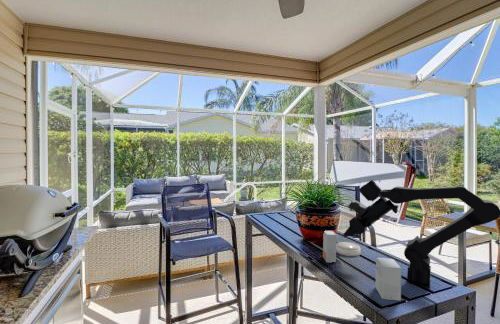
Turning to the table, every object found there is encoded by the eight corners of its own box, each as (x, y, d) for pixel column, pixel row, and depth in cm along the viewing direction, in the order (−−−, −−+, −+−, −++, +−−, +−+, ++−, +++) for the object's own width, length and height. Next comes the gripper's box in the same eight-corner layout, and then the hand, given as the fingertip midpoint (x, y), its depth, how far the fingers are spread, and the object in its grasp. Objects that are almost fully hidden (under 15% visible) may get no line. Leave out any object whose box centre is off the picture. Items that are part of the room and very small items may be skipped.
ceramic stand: (362, 251, 126) (363, 244, 126) (356, 258, 118) (357, 251, 117) (339, 246, 133) (339, 240, 133) (332, 252, 124) (332, 246, 124)
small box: (400, 301, 83) (402, 268, 83) (381, 299, 84) (382, 266, 84) (392, 288, 91) (393, 258, 91) (375, 287, 92) (375, 256, 92)
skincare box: (322, 257, 118) (323, 230, 118) (332, 257, 118) (332, 230, 118) (326, 262, 112) (326, 234, 112) (336, 262, 112) (337, 234, 112)
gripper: (367, 191, 114) (340, 213, 121) (356, 197, 99) (326, 221, 106) (387, 212, 110) (358, 234, 117) (378, 221, 95) (345, 245, 102)
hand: (347, 233), depth 110 cm, fingers open, 9 cm apart
